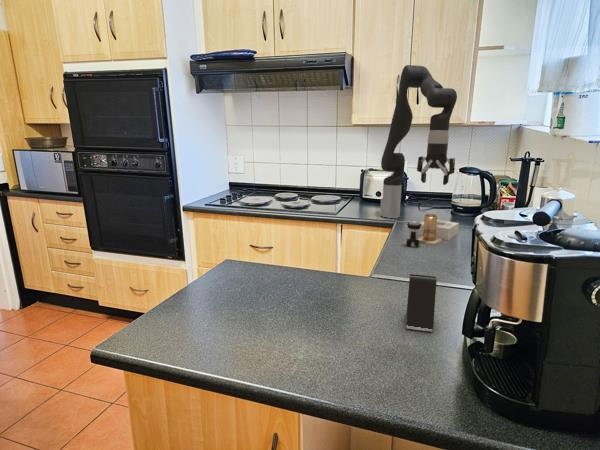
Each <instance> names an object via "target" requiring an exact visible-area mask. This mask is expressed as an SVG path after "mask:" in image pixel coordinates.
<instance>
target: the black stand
mask: <svg viewBox="0 0 600 450" xmlns="http://www.w3.org/2000/svg"><path fill="white" fill-rule="evenodd" d="M406 225H407V229H408V237H407V238H406V241H404V243H401V245H405V246H406V247H412V248H419V247H420V242H419V240H418V238H419V235H418V229H420V226H421V224H420V221H418V220H409V222H408V223H406Z"/></svg>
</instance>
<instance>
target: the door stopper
mask: <svg viewBox="0 0 600 450" xmlns="http://www.w3.org/2000/svg"><path fill="white" fill-rule="evenodd" d="M408 279H409V283H408V292H407V293H408V295H407V304H406V315H407V322H406V321H405V324H406V325H408V326H414V327H421V328H428V329H433V330H434V324H435V323H434V322H435V308H436V295H437V293H436V291H437V276H434V275H433V276H431V275H424V274H423V275H421V274H413V273H411V274H410V273H409V278H408ZM406 325H405V326H406Z"/></svg>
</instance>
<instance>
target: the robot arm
mask: <svg viewBox="0 0 600 450" xmlns="http://www.w3.org/2000/svg"><path fill="white" fill-rule="evenodd" d="M401 70H402V71H401V75H400V79H399V84H398V92H397V97H396V102H395V103H396V104H395V107H394V111H393V115H392V119H391V122H390V123H391V124H390V127H389V133H388V138H387V141H386V144H385V147H384V150H383V153H382V155H381V156H382V157H381V161H380V167H381V169H382V171H384V172H392V174H391V175H389V176H387V177H385V178H383V186H382V187H383V188H382V198H380V211H379V216H380V217H381V216H383V217H382V218H384V217H387V218H386V219H390V218H395V219H398V218H397V217H399V218H400V215H401V198H402V184H403V179H404V173H405V164H406V163H405V161H406V160H405V156H404V153H401V152H395V150H396V148H397V147H398V145H399V144H400V143H401V142H402V140H403V139H405V137H406V136H407V135H408V133H409V132H410V131H411V126H412V122H413V119H414V118H413V117H414V116H413V111H412V108H411V106H410V103H409V99H408V89H409V88H411V89H413V88H414V89H420V93H421V94H422V96H423V97H425V98H426V100H427V105H428V106H429V107H430V108H435V109H436V108H437V109H438V108H441V109H442V111H441V112H440V113H437V114H436V113H435V114H433V115H431V116H430V121H429V129H428V130H429V132H428V138H427V146H426V156H421V155H420V156H418V158H417V165H416V172H419V173H421V174H420V180H421V182H422V183H426V182H427V172H428V170H429V169H436V170H439V169H440V170H441V171H442V173H443V178H442V179H443V181H442V185H443V186H446V185H447V184H449V177H450V175H453V174H455V169H456V168H455V164H456V163H455V162H456V158H454V157H453V158H452V157H450V158H448V156H447V155H448V146H449V137H450V136H449V129H450V119H451V116H452V115H453V111H454V108H455V106H456V102H457V99H458V96H457V91H456V90H455V89H454V88H449V87H445V88H444V86H443V85H442V84H441V83H440V82H438V81H437V80H436V79H434V77H433V75H432V74H431V73H430V70H429V69H428V68H427V67H426V66H423V65H412V64H406V65H404V67H403V68H402V69H401ZM424 163H426V164H425V165H424ZM446 163H448V164H449V170H448V167H447V165H446ZM422 183H421V184H422Z"/></svg>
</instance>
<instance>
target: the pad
mask: <svg viewBox="0 0 600 450" xmlns="http://www.w3.org/2000/svg"><path fill="white" fill-rule="evenodd" d="M418 240H419V244H420V243H421V244H427V245H430V246H436V245H437V244H439V243H440V242H442V241H443V239H438V238H436V239H435V241H426V240H423V236H421V237H418Z"/></svg>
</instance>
